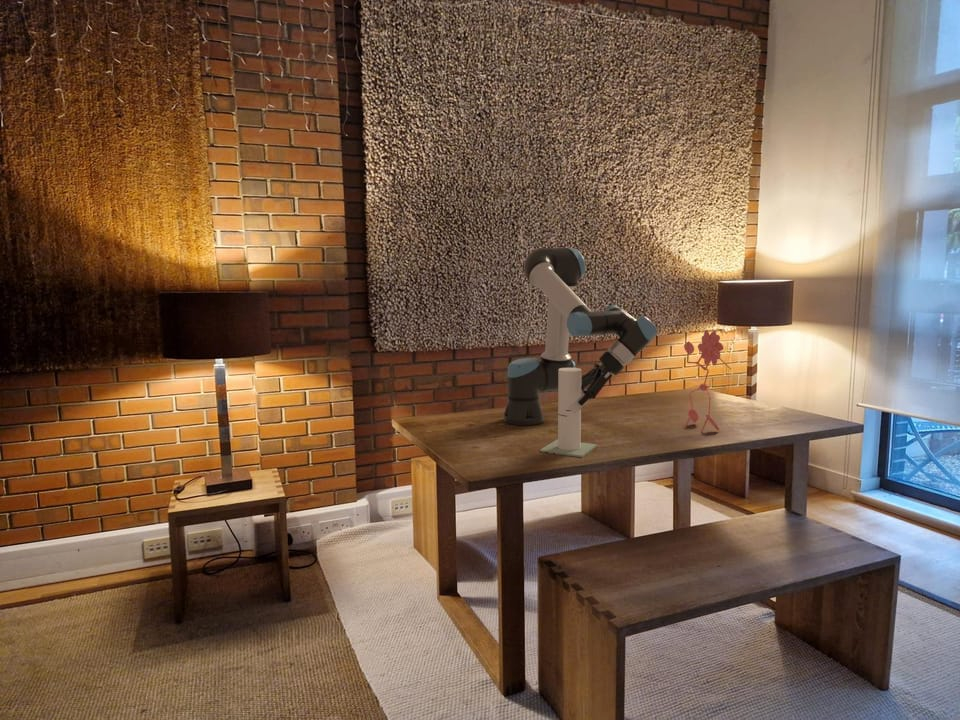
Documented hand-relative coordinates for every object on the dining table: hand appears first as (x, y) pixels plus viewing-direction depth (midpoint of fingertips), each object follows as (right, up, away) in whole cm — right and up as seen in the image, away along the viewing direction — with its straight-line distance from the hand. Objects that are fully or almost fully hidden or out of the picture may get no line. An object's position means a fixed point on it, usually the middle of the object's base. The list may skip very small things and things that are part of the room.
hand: (567, 406), depth 201 cm
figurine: (+54, -10, +27) cm, 62 cm away
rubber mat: (+1, -14, +2) cm, 14 cm away
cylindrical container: (+1, -13, +2) cm, 13 cm away
